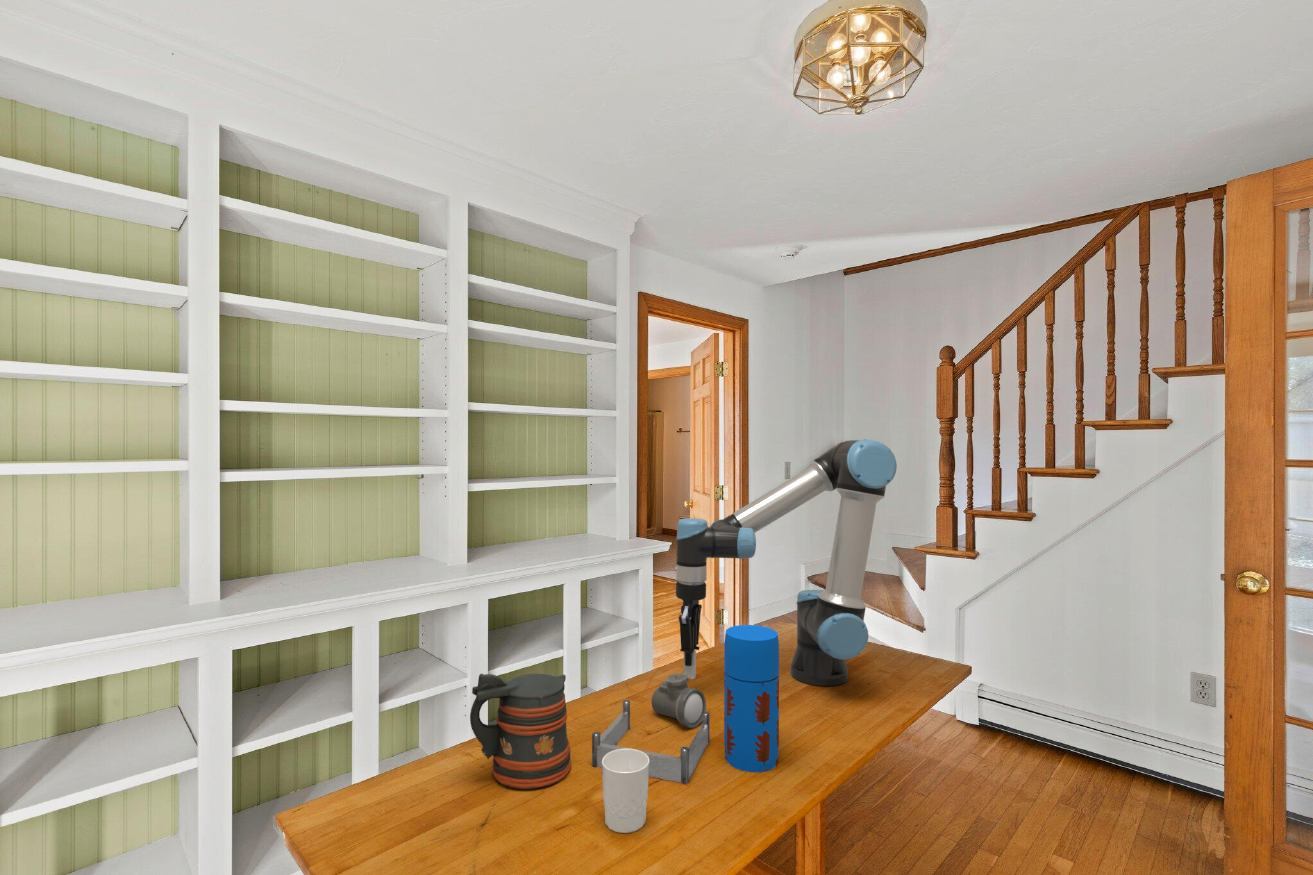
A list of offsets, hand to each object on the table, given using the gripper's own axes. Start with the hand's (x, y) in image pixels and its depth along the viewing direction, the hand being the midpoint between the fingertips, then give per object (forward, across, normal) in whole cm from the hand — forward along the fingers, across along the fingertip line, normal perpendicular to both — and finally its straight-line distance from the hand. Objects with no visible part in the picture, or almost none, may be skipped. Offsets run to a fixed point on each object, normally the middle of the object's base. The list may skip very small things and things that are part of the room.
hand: (689, 677), depth 150 cm
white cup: (+6, +51, +3) cm, 51 cm away
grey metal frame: (+5, +28, 0) cm, 28 cm away
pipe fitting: (+6, +12, 0) cm, 13 cm away
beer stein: (+6, +44, -21) cm, 49 cm away
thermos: (+5, +24, +20) cm, 31 cm away
